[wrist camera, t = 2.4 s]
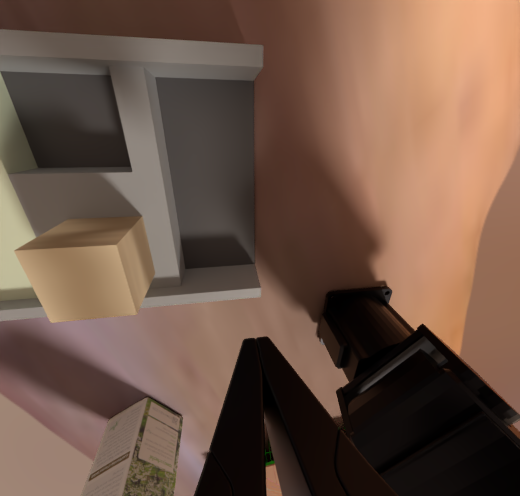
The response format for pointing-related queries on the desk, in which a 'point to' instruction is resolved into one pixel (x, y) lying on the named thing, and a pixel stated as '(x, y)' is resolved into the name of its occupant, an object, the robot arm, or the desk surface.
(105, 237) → the wooden cube
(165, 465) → the syrup box
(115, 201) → the tray
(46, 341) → the desk surface
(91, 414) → the desk surface
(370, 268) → the desk surface
